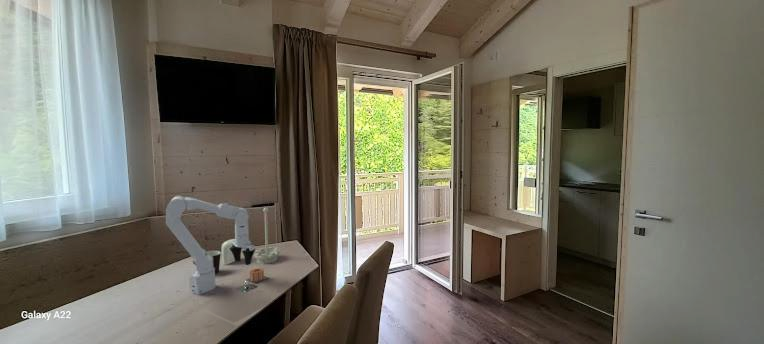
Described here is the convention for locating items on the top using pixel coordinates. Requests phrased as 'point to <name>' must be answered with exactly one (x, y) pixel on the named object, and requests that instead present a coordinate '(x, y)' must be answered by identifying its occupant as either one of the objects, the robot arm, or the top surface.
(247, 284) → the stand
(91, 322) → the top surface
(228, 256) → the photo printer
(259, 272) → the ring
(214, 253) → the coffee mug
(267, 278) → the square peg base
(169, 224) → the robot arm
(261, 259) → the flag stand
